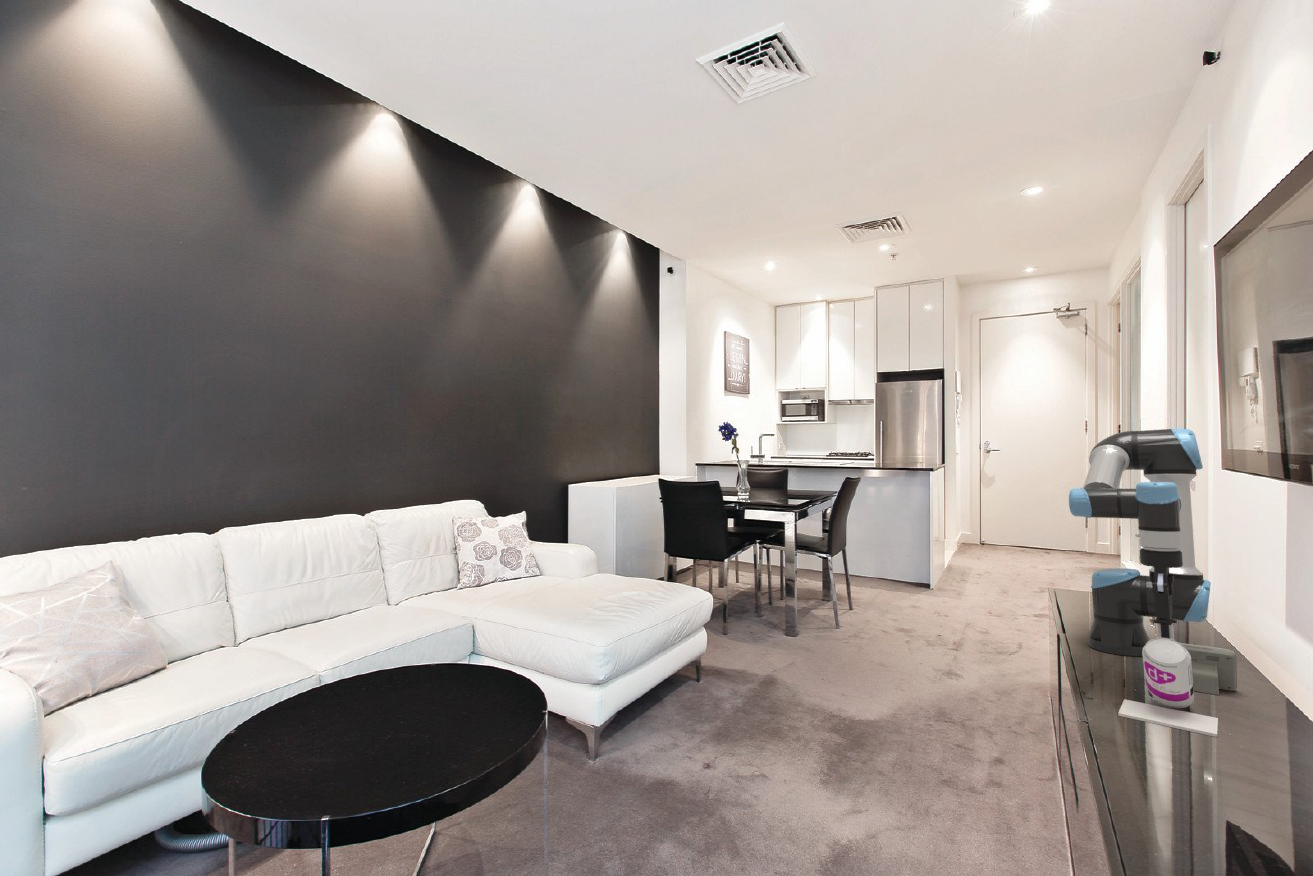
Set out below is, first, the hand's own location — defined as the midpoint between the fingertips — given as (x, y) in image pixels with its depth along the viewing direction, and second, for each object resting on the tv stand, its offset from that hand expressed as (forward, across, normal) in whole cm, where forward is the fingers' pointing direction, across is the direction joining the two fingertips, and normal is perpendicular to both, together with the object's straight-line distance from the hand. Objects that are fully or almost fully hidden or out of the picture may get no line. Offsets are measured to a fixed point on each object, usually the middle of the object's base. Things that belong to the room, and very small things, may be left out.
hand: (1166, 652), depth 137 cm
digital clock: (+12, -19, +3) cm, 23 cm away
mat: (+12, +8, 0) cm, 15 cm away
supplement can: (+10, -1, 0) cm, 10 cm away
